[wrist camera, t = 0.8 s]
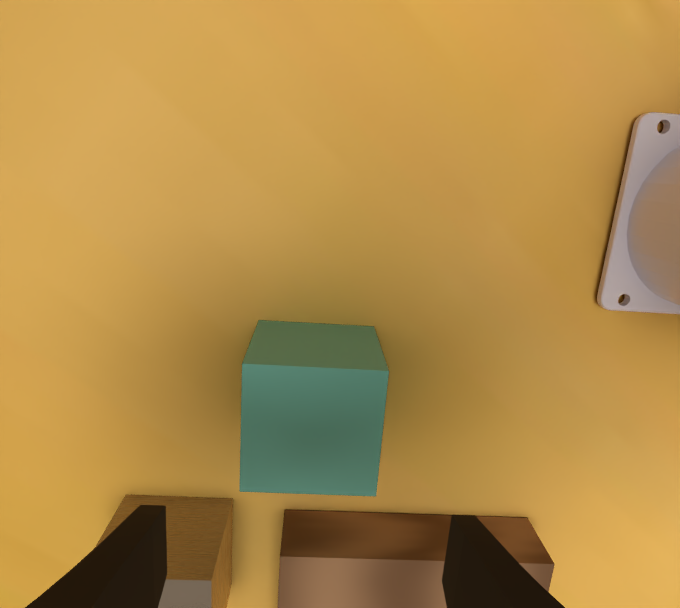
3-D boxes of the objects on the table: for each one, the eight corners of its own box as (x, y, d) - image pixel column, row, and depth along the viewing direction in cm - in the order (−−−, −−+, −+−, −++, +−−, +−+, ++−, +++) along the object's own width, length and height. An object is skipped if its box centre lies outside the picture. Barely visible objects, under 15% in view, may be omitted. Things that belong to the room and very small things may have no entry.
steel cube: (233, 497, 24) (211, 580, 19) (231, 582, 25) (211, 679, 21) (126, 493, 24) (77, 577, 19) (130, 579, 25) (86, 678, 20)
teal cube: (373, 325, 22) (388, 371, 17) (364, 428, 23) (376, 496, 19) (259, 319, 22) (242, 363, 17) (256, 423, 23) (239, 491, 18)
